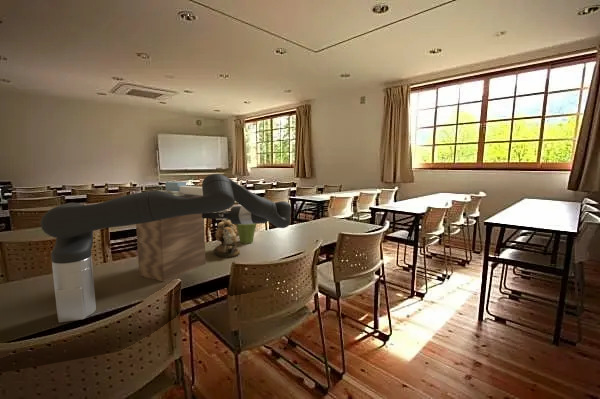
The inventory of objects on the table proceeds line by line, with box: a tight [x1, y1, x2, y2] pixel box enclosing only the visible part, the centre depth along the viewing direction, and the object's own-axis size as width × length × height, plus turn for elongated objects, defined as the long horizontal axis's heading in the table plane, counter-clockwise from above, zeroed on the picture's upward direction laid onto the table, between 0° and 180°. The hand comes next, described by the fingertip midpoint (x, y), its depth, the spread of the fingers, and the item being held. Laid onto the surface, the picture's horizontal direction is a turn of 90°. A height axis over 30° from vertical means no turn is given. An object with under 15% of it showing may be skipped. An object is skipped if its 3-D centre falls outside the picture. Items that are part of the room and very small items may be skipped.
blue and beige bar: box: [165, 180, 203, 195], centre depth 122 cm, size 23×4×4 cm, turn 65°
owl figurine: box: [212, 220, 240, 259], centre depth 146 cm, size 18×12×17 cm, turn 39°
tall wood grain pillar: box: [135, 189, 206, 282], centre depth 122 cm, size 14×22×33 cm, turn 155°
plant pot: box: [236, 224, 257, 244], centre depth 166 cm, size 12×12×11 cm
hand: (207, 215), depth 125 cm, fingers open, 8 cm apart
